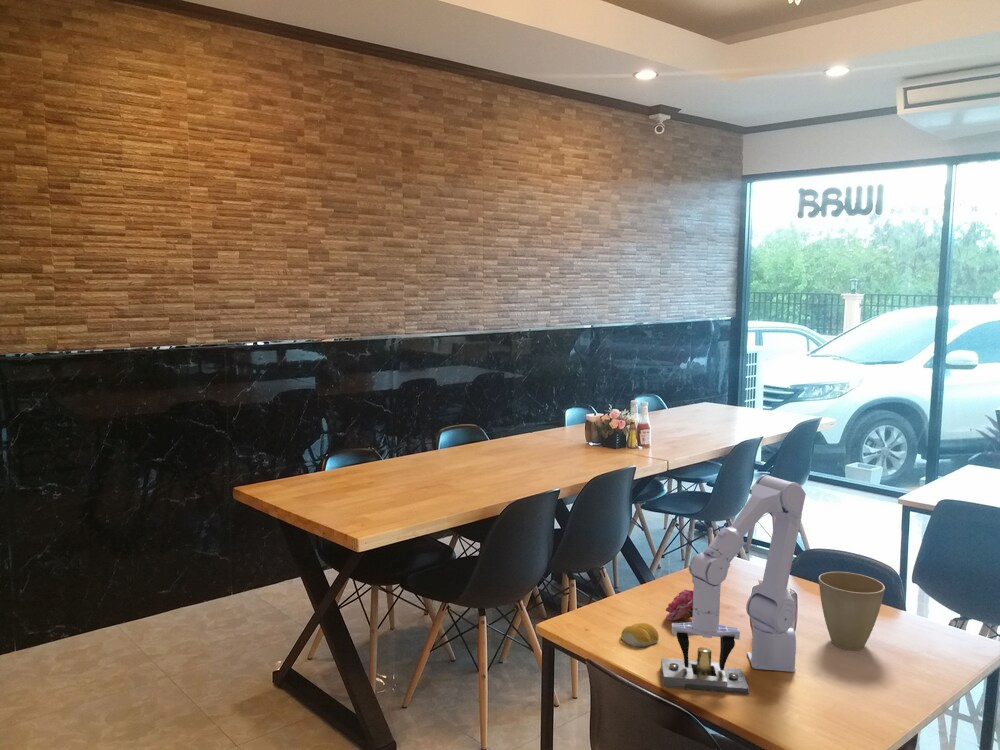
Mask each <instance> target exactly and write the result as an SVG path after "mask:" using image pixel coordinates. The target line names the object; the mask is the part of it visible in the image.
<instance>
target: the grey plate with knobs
mask: <svg viewBox="0 0 1000 750" xmlns="http://www.w3.org/2000/svg"><path fill="white" fill-rule="evenodd" d="M688 663H689V664H688V667H685V665H684V658H671V657H670V658H668V657H661V659H660V671H661V677H662V683H663V688H671V689H681V690H683V689H684V690H696V691H709V692H717V693H718V692H719V693H732V694H744V695H749V694H750V693H749V689H750V688H749V686H748V684H747V683H748V682H747V680H746V677H745V675H744V672H743V669H742V668H738V667H737V668H736V667H735V668H734V667H724V670H720V666H719V661H711V673H710V676H704V675H697V659H696V660H694V659H688Z"/></svg>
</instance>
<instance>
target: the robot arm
mask: <svg viewBox="0 0 1000 750" xmlns="http://www.w3.org/2000/svg"><path fill="white" fill-rule="evenodd" d="M750 495H751V496H750V498H749V499H748V501H746V504H745V505H744V506H743V507H742V509H741V510H740V512H739V513H738V515H737V516H736V518H735V519H734V521H733V523H732V524H731V526H728V527H722V528H721V529H720V530H719V531H718V532H717V534H716V536H715V537H714V538H713V539H712V541H711V542H710V543H709V545H707V547H706V548H705V549H704V551H702V552H699V553H697V554H694V556H692V558H691V560H690V564H688V572H689V574H690V575H691V583H693V588H694V589H693V590H694V593H693V618H692V621H689V622H679V623H678V622H672V623H671V635H672V636H676V639H677V641H678V644H679V647H680V649H681V652H682V655H683V659H684V665H685V667H688V664H689V663H688V660H689V647H690V640H689V636H699V637H700V636H701V637H702V638H706V639H712V638H713V637H716V638H720V646H719V647H720V652H719V660H718V662H719V666H720V670H724V668H725V667H726V666H725V665H726V663H727V660H728V657H729V655H730V653H731V652H732V651H733V649H734V648H735V646H736V641H735V640H739V641H740V636H741V635H740V634H741V631H740V628H739V627H736V626H735V627H734V626H729V625H724V624H720V612H721V611H720V610H721V609H720V608H721V607H720V606H721V585H722V583H723V582H724V581H725V580H726V578H727V576H728V573H729V568H730V566H731V562H732V561H733V559H734V558H735V557H736V556H737V554H738V553H739V552H740V551H741V550H742V548H743V547H744V546H745V540H744V536H745V535H746V534H748V533H749V531H751V529H752V528H753V527H754V526H755V525H756V524H757V523H758V522H759V521H760V520H761V518H762V517H763V516H764V515H765V514H767V513H770V514H771V513H772V514H773V515H774V517H775V519H774V520H775V521H774V526H773V530H772V534H771V535H772V536H771V539H770V544H769V549H768V555H767V559H766V562H765V563H766V564H765V568H764V571H763V578H762V581H761V583H758V584H756V585H755V586H753V587H752V591H751V594H750V596H749V597H748V599H747V602H746V605H745V606H746V607H745V610H746V613H747V615H748V616H749V618H750V623H752V639H751V640H752V641H751V651H747V652H746V654H747V658H748V659H749V662H750V665H751V667H752V669H754V670H763V671H764V670H765V671H776V672H777V671H779V672H789V673H794V672H795V673H796V653H797V652H796V651H797V637H796V632H795V629H794V628H793V627H792V626H793V624H794V621H795V611H794V608H795V607H794V606H795V600H794V598H793V596H792V595H791V593H790V592H789V591H788V588H787V587H788V583H789V579H790V573H791V569H792V565H793V559H794V556H795V555H794V554H795V550H796V545H797V540H798V535H799V531H800V525H801V521H802V516H803V510H804V505H805V499H806V495H807V494H806V492H805V490H804V489H803V487H802V486H801V484H800V483H798V482H795V481H789V480H786V479H782V478H778V477H775V476H771V475H769V474H761V475H760V476H759V477H758V478H757V479H756V481H755V483H754V484H753V485H752V486H751V489H750Z"/></svg>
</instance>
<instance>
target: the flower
mask: <svg viewBox="0 0 1000 750" xmlns="http://www.w3.org/2000/svg"><path fill="white" fill-rule="evenodd" d="M692 589H693V590H689V589H683V590H682V591H680V592H678V594H677V595H676V596H675V597H674V598H673V599H672V601H671V602H670V603H668V604H667V607H666V608H665V611H666V612H668V614H665V615H666V616H665V618H666V620H668V621H677V620H679V619H686V618H687V617H689V618H691V619H693V593H694V587H693V588H692Z"/></svg>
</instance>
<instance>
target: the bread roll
mask: <svg viewBox="0 0 1000 750" xmlns="http://www.w3.org/2000/svg"><path fill="white" fill-rule="evenodd" d="M620 637H621V639H622V640H623V642H625V643H626V644H628V645H630V646H632V647H639V648H640V647H648V646H650V645H654V644H655V643H656V644H657V642H658V641H659V637H660V636H659V632H658V630H657V629H656V628H655V627H654V626H653V625H652V624H650V623H648V622H647V623H646V622H640V623H639V622H638V623H634V624H632V625H628V626H626V627H624V628H623V629H622V631H621V636H620Z"/></svg>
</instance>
